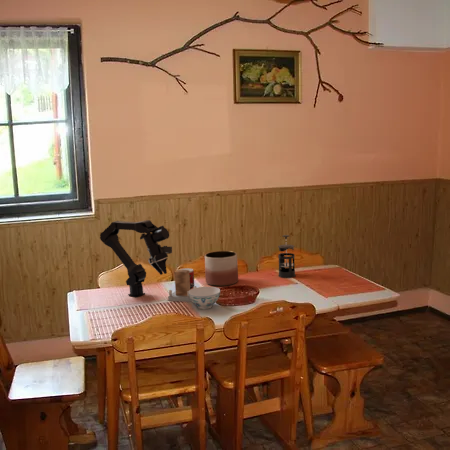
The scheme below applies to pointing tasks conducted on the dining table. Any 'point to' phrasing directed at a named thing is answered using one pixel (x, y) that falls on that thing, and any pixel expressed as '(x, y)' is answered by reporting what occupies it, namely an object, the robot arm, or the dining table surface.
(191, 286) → the canned food
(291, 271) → the french press
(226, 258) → the planter
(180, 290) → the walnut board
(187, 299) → the peg seat
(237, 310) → the dining table surface
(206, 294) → the chinaware
